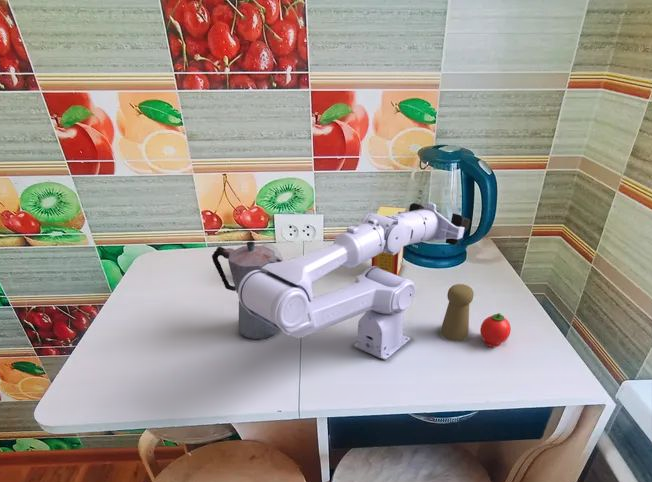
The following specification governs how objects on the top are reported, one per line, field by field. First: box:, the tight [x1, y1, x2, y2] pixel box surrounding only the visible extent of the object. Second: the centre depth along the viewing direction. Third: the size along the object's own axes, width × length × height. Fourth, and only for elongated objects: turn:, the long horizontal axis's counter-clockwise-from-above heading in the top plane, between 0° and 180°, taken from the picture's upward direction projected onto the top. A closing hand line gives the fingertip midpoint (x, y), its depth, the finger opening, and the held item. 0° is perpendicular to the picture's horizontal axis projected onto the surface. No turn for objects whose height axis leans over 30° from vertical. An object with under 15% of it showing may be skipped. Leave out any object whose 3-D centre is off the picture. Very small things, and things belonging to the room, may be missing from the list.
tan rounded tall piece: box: [439, 283, 474, 342], centre depth 97 cm, size 6×6×11 cm
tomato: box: [479, 312, 512, 348], centre depth 95 cm, size 6×6×7 cm
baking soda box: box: [371, 205, 407, 276], centre depth 118 cm, size 10×6×16 cm
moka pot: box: [211, 241, 284, 340], centre depth 95 cm, size 10×15×20 cm, turn 78°
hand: (451, 219), depth 96 cm, fingers open, 7 cm apart
